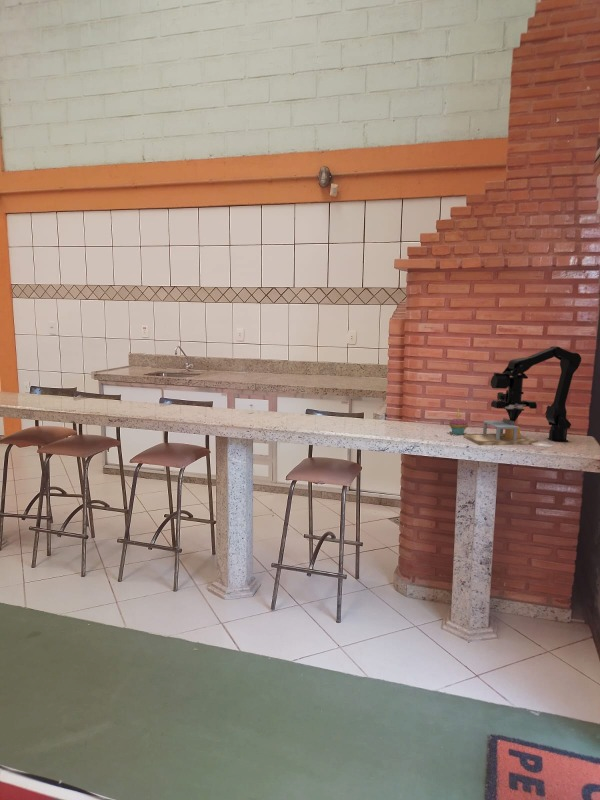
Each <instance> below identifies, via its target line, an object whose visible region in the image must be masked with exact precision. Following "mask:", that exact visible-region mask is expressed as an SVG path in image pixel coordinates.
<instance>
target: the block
mask: <svg viewBox="0 0 600 800" xmlns="http://www.w3.org/2000/svg"><path fill="white" fill-rule="evenodd" d="M515 426H517V427H518V429H517V439H520V433H521V426H519V425H516V424H515ZM504 433H505V438H507V439H513V429H504Z"/></svg>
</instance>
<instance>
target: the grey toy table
mask: <svg viewBox="0 0 600 800" xmlns="http://www.w3.org/2000/svg"><path fill="white" fill-rule="evenodd" d="M482 423H483V425H482V427H483V429H482V434H484V435H486V434H488V433H487V431H488V430H487V428H488V426H490V427H493V428H495V430H496V431H495V434H496V440H499V439H500V434H503V433H504V430H505V429H513V440H516V439H517V429H518V427H517V426H518V425H516V424H515V423H516V421H515V422H514V421H511V420H510V418H509V419H508V418H505V417H504V418H502V420H483V421H482ZM515 425H516V426H515Z"/></svg>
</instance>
